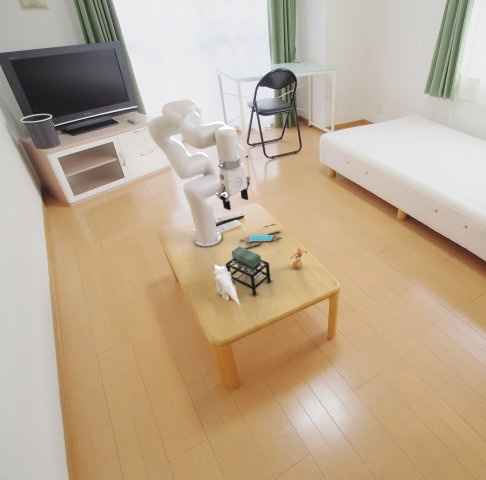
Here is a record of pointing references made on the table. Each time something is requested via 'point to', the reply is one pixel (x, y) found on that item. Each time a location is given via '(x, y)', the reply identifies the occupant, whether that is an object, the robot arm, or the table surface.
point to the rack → (249, 274)
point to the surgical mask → (261, 237)
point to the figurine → (298, 263)
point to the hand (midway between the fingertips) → (236, 203)
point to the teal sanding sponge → (246, 258)
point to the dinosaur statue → (225, 283)
